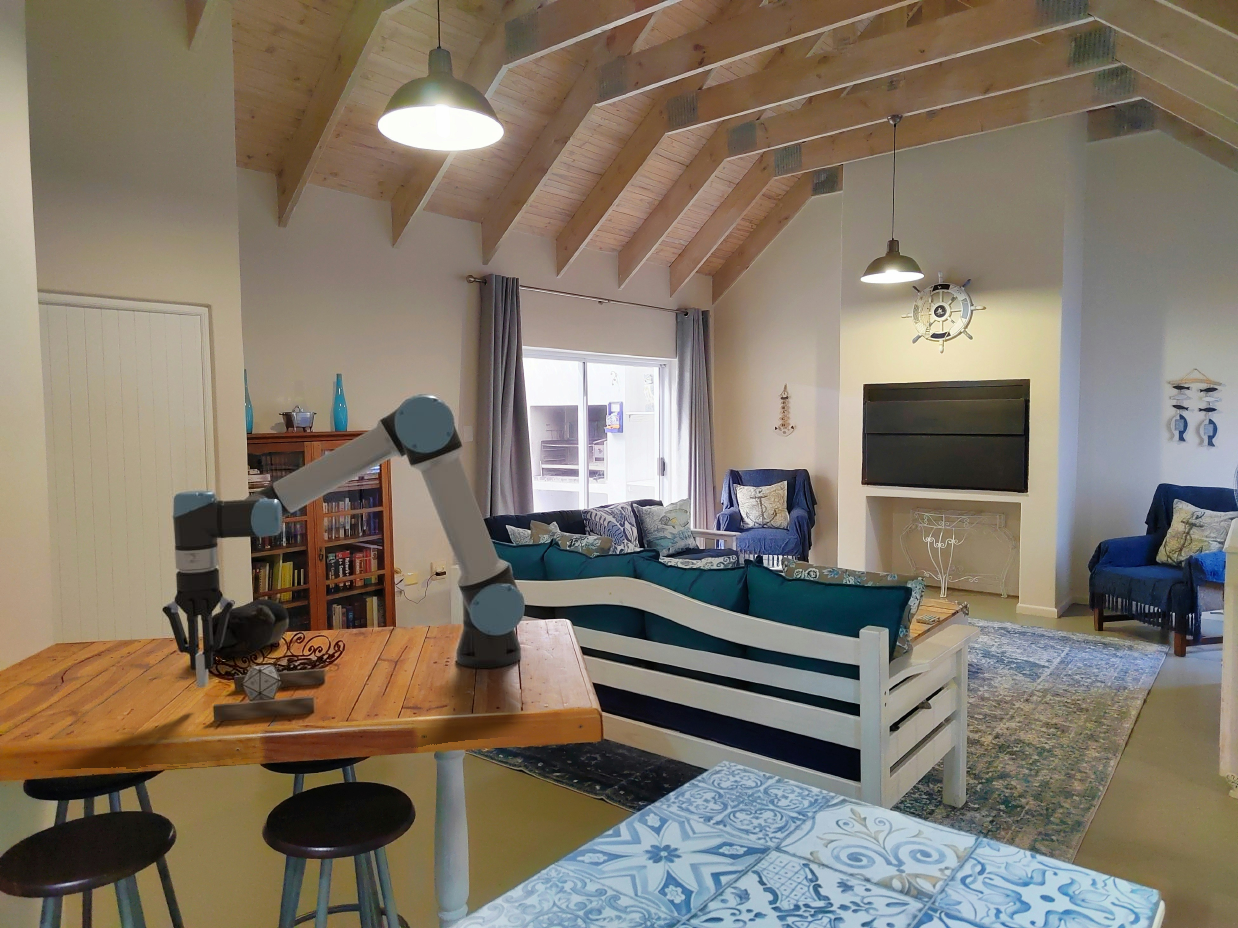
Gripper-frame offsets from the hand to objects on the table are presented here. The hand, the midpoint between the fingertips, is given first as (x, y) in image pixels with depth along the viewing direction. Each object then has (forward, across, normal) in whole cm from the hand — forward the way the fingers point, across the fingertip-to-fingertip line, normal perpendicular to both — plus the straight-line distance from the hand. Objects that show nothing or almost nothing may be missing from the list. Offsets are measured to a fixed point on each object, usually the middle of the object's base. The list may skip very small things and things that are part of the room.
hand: (202, 684), depth 159 cm
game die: (+5, +11, 0) cm, 12 cm away
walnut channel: (+5, +13, 0) cm, 14 cm away
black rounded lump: (+5, +1, +37) cm, 37 cm away
